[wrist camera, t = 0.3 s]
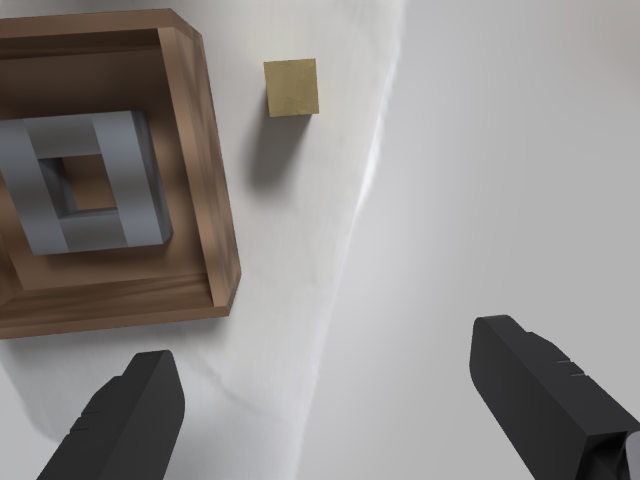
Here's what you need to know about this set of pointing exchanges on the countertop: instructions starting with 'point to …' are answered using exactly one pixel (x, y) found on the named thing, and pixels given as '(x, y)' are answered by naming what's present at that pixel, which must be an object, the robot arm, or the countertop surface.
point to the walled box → (110, 176)
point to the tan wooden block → (291, 87)
